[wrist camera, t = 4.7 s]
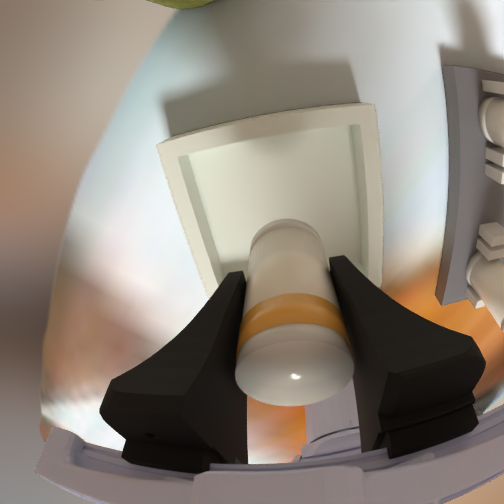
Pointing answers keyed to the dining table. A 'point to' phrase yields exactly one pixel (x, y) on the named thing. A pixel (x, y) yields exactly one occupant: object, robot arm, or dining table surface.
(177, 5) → the plant pot
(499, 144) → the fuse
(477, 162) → the fuse holder
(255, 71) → the dining table surface
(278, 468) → the robot arm
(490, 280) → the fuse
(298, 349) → the cylinder
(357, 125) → the tray
